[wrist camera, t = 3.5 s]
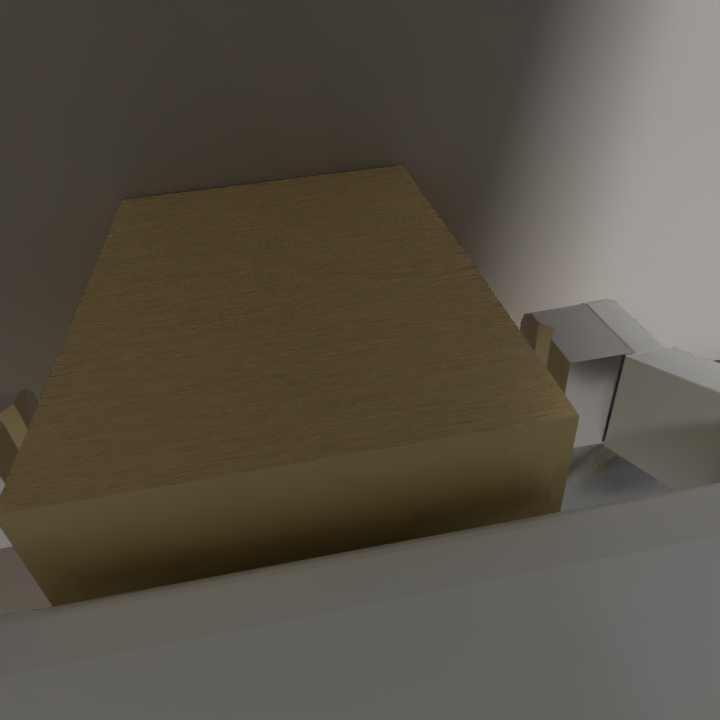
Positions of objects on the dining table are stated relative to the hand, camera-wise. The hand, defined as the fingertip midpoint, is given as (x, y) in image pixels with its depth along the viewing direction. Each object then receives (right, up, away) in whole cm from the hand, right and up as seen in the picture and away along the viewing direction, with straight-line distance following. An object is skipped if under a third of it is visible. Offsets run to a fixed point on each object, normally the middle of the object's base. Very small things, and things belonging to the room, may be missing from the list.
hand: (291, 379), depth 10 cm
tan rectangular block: (0, +1, +2) cm, 3 cm away
